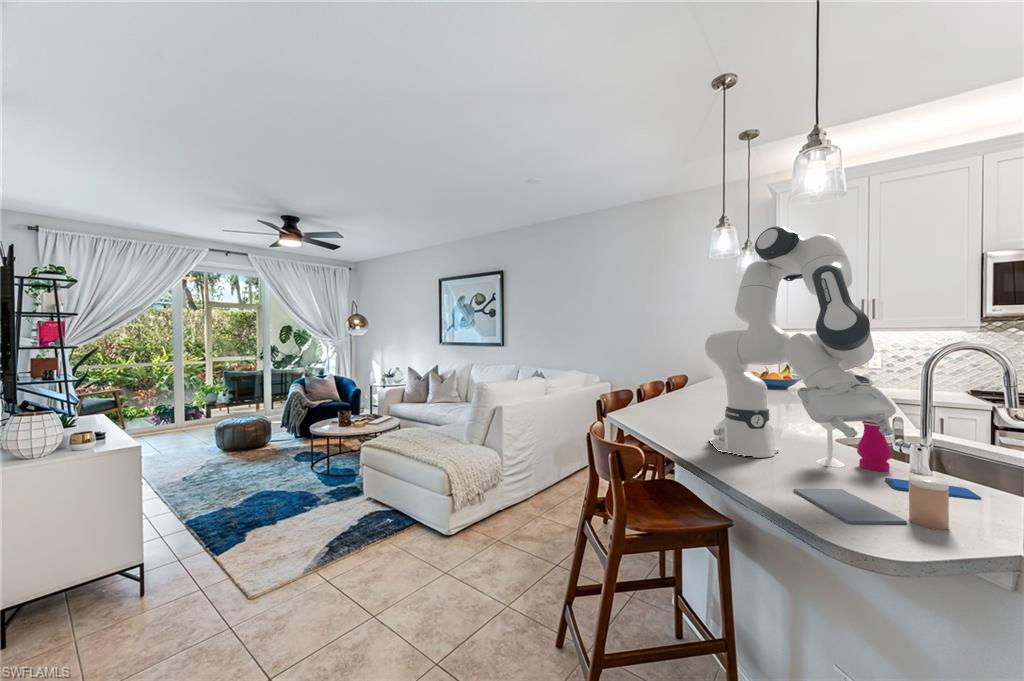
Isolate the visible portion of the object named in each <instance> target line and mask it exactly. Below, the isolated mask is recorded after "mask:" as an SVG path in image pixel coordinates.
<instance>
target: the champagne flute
mask: <svg viewBox="0 0 1024 681" xmlns="http://www.w3.org/2000/svg"><path fill="white" fill-rule="evenodd" d="M818 424H819V425H821V427H823V428H824V429H825V430H827V431H826V432H827V433H826V436H827V440H826V441H827V442H826V443H827V445H826V446H827V447H826V448H827V451H826V452H827V453H826V454H827V456H825V457H823V458H820V459H817V460H816V461H815V462H817V463H816V464H819V465H822V466H827V467H831V466H832V468H843V467H846V465H845V464H844V463H843V462H841V461H839V460H838V459H836V458H835V457H833V454H834V453H833V452H834V451H833V449H834V448H833V431H834V430H837V428H835V427H834V426H832V424H831V423H818Z"/></svg>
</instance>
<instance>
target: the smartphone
mask: <svg viewBox="0 0 1024 681" xmlns="http://www.w3.org/2000/svg"><path fill="white" fill-rule="evenodd" d="M884 482H886V484H888V485H889V486H890V487H891V488H892V489H894V490H898V491H903V492H909V479H908V480H907V479H900V478H899V479H898V478H892V477H891V478H890V477H885V478H884ZM949 497H951V498H952V497H954V498H962V499H971V500H977V499H981V500H982V497H981V495H980V496H979V495H978V494H976V493H975V492H973V491H972V490H970V489H968V488H966V487H962V486H954V485H949Z"/></svg>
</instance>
